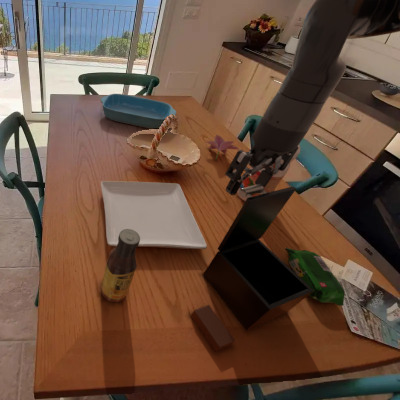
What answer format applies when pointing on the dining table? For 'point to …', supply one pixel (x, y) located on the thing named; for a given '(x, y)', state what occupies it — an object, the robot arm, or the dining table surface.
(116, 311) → the dining table surface
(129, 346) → the dining table surface
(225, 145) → the lily
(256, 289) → the waste bin
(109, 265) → the sauce bottle
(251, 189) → the bin lid
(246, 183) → the fruit juice
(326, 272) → the snack package
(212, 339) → the chocolate bar
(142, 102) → the casserole dish
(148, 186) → the square plate
